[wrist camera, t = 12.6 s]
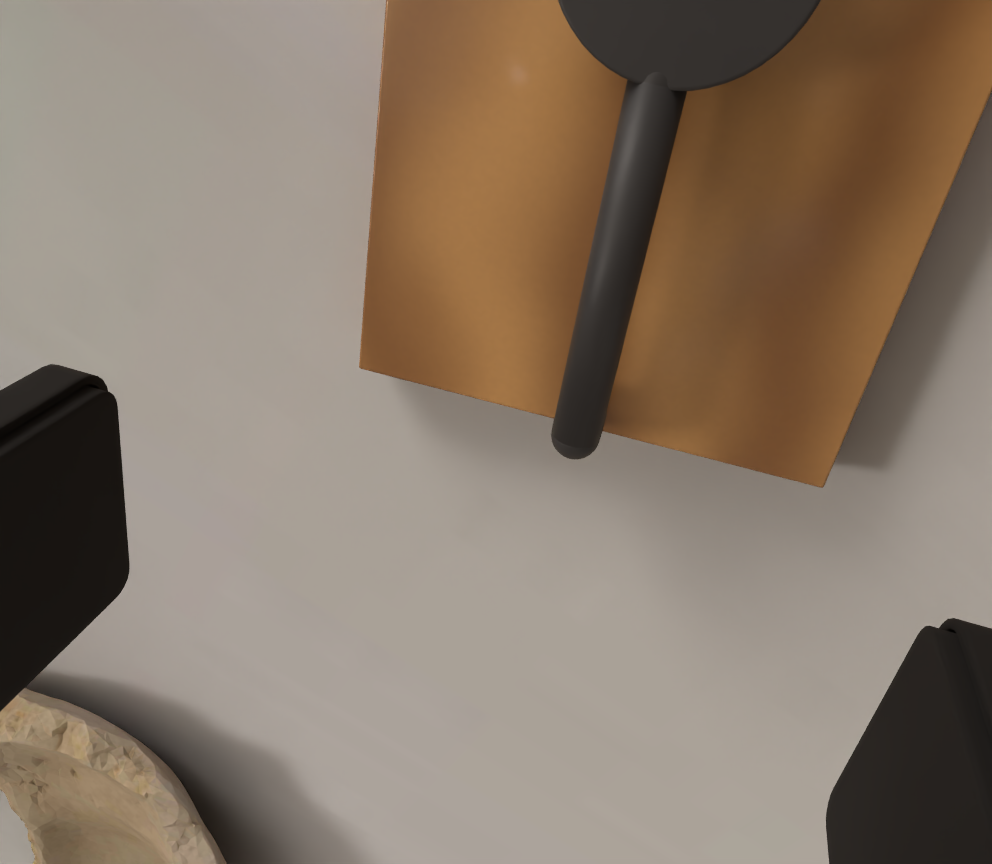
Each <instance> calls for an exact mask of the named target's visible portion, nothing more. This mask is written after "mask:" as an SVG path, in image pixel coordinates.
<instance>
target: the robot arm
mask: <svg viewBox="0 0 992 864" xmlns="http://www.w3.org/2000/svg"><path fill="white" fill-rule="evenodd" d="M128 574H129V553H128V540H127V527H126V513H125V500H124V487H123V473H122V460H121V447H120V433H119V420H118V407H117V402H116V399H115V397H114V395H113V394H111V393H110V392H108V389H107V386H106V384H105V383H104V381H103V380H102V379H101V378H99V377H98V376H95V375H92V374H88V373H84V372H81V371H77V370H74V369H70V368H67V367H63V366H60V365H52V364H50V365H47V366H44V367H42V368H40V369H38V370H36V371H35V372H33V373H31V374H29V375H27V376H26V377H24V378H22V379H20V380H18V381H17V382H15V383H13V384H11V385H9V386H8V387H6V388H4V389H2V390H0V711H1V710H2V709H3V708H5V707H6V706H7V705H8V704H9V703H10V702H11V701H12V700H13V699H14V698H15V697H16V696H17V695H18V694H19V693H20V692H21V691H22V690H23V689H24V688H25V687H26V686H27V685H28V684H29V683H30V682H31V681H32V680H33V679H34V678H35V677H36V676H37V675H38V674H39V673H40V672H41V671H42V670H43V669H44V668H45V667H46V666H47V665H48V664H49V663H50V662H51V661H52V660H53V659H54V658H55V657H56V656H57V655H58V654H59V653H60V652H61V651H63V650H64V649H65V648H66V647H67V646H68V645H69V644H70V643H71V642H72V641H73V640H74V639H75V638H76V637H77V636H78V635H79V634H80V633H81V632H82V631H83V630H84V629H85V628H86V627H87V626H88V625H89V624H90V623H91V622H92V621H93V620H94V619H95V618H96V617H97V616H98V615H99V614H100V613H101V612H102V611H103V610H104V609H105V608H106V607H107V606H108V605H109V604H110V603H111V602H112V601H113V600H114V599H115V598H116V597H117V596H118V595H119V594H120V593H121V591H122V589H123V588H124V586H125V584H126V581H127V579H128ZM826 831H827V842H828V854H829V864H992V629H990V628H987V627H983V626H980V625H976V624H973V623H969V622H966V621H962V620H959V619H955V618H952V619H948V620H946V621H945V622H944V623H943V624H942V625H941V626H940V628H935V627H932V626H925V627H924V628H923V629H922V630H921V631H920V632H919V634H918V635H917V637H916V639H915V641H914V643H913V644H912V646H911V648H910V650H909V652H908V654H907V655H906V657H905V659H904V661H903V663H902V664H901V666H900V668H899V670H898V672H897V674H896V675H895V677H894V679H893V681H892V683H891V685H890V686H889V688H888V690H887V692H886V694H885V695H884V697H883V699H882V701H881V703H880V705H879V706H878V708H877V710H876V712H875V714H874V716H873V717H872V719H871V721H870V723H869V725H868V726H867V728H866V730H865V732H864V734H863V736H862V737H861V739H860V741H859V743H858V745H857V746H856V748H855V750H854V752H853V754H852V756H851V757H850V759H849V761H848V763H847V765H846V767H845V768H844V770H843V772H842V774H841V776H840V777H839V779H838V781H837V783H836V785H835V787H834V788H833V791H832V793H831V795H830V799H829V802H828V807H827V814H826Z"/></svg>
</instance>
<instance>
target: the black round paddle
mask: <svg viewBox="0 0 992 864" xmlns="http://www.w3.org/2000/svg"><path fill="white" fill-rule="evenodd" d="M820 1H821V0H558V2H559V5H560V7H561V10H562V12H563V14H564V16H565V18H566V20H567V22H568V24H569V26H570V28H571V29H572V31H573V32H574V34H575V35H576V37H577V38H578V39H579V41H580V42H581V44H582V45H583V46H584V47H585V48H586V49H587V50H588V51H589V52H590V53H591V55H592V56H593V57H594V58H596V59H597V60H598V61H599V62H600V63H602V64H603V65H604V66H605V67H606V68H608V69H609V70H611V71H613V72H614V73H616V74H618V75H619V76H621V77H623V78H625V79H627V84H626V89H625V93H624V98H623V102H622V107H621V112H620V116H619V121H618V126H617V130H616V135H615V140H614V144H613V149H612V153H611V158H610V163H609V167H608V172H607V177H606V181H605V186H604V191H603V195H602V200H601V204H600V209H599V214H598V218H597V223H596V228H595V232H594V237H593V242H592V246H591V251H590V255H589V260H588V265H587V269H586V274H585V279H584V283H583V288H582V292H581V297H580V302H579V306H578V311H577V316H576V320H575V325H574V330H573V334H572V339H571V343H570V348H569V353H568V357H567V362H566V367H565V371H564V376H563V381H562V385H561V390H560V394H559V399H558V404H557V408H556V413H555V418H554V422H553V427H552V433H551V437H552V442H553V445H554V447H555V449H556V450H557V451H558V452H559V453H560V454H561V455H563V456H564V457H566V458H569V459H582V458H585V457H587V456H589V455H590V454H591V453H592V452H593V451H594V450H595V449H596V447H597V446H598V443H599V440H600V437H601V434H602V430H603V427H604V424H605V420H606V416H607V408H608V404H609V400H610V396H611V392H612V388H613V384H614V380H615V376H616V372H617V368H618V364H619V360H620V357H621V353H622V349H623V345H624V341H625V337H626V333H627V329H628V325H629V321H630V317H631V313H632V309H633V305H634V301H635V297H636V293H637V289H638V285H639V281H640V277H641V273H642V269H643V265H644V261H645V257H646V253H647V249H648V245H649V241H650V237H651V233H652V229H653V225H654V221H655V217H656V213H657V209H658V205H659V201H660V197H661V193H662V189H663V185H664V182H665V178H666V174H667V170H668V166H669V162H670V158H671V154H672V150H673V146H674V142H675V138H676V134H677V130H678V126H679V122H680V118H681V114H682V110H683V106H684V102H685V98H686V94H687V91H694V90H701V89H708V88H712V87H715V86H719V85H722V84H726V83H728V82H731V81H733V80H735V79H738V78H740V77H742V76H745V75H746V74H748V73H750V72H752V71H753V70H755V69H757V68H758V67H760V66H762V65H763V64H764V63H766V62H767V61H768V60H770V59H771V58H772V57H774V56H775V55H776V54H778V53H779V52H780V51H781V50H782V49H783V48H784V47H785V46H786V45H787V44H788V43H789V42H790V41H791V40H792V39H793V38H794V37H795V36H796V35H797V34H798V32H799V31H800V30H801V29H802V28H803V26H804V25H805V24H806V23H807V21H808V20H809V18H810V17H811V15H812V14H813V12H814V11H815V9H816V8H817V6H818V5H819V3H820Z"/></svg>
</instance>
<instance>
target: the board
mask: <svg viewBox="0 0 992 864" xmlns="http://www.w3.org/2000/svg"><path fill="white" fill-rule="evenodd" d="M626 84H627V79H625V78H623V77H621V76H619V75H618V74H616V73H614V72H613V71H611V70H609V69H608V68H606V67H605V66H604V65H603V64H602V63H600V62H599V61H598V60H597V59H596V58H594V57H593V56H592V55H591V53H590V52H589V51H588V50H587V49H586V48H585V47H584V46H583V45H582V44H581V42H580V41H579V39H578V38H577V37H576V35H575V34H574V32H573V31H572V29H571V28H570V26H569V24H568V22H567V20H566V18H565V16H564V14H563V12H562V10H561V7H560V5H559V2H558V0H386V12H385V25H384V39H383V52H382V66H381V79H380V93H379V106H378V120H377V133H376V147H375V160H374V174H373V187H372V201H371V214H370V228H369V241H368V255H367V268H366V282H365V295H364V309H363V322H362V336H361V349H360V363H359V367H360V368H361V369H365V370H369V371H373V372H376V373H380V374H384V375H388V376H392V377H396V378H400V379H403V380H407V381H411V382H415V383H419V384H423V385H427V386H431V387H434V388H438V389H442V390H446V391H450V392H454V393H458V394H461V395H465V396H469V397H473V398H477V399H481V400H485V401H489V402H492V403H496V404H500V405H504V406H508V407H512V408H516V409H519V410H523V411H527V412H531V413H535V414H539V415H543V416H547V417H550V418H555V413H556V408H557V404H558V399H559V394H560V390H561V385H562V381H563V376H564V371H565V367H566V362H567V357H568V353H569V348H570V343H571V339H572V334H573V330H574V325H575V320H576V316H577V311H578V306H579V302H580V297H581V292H582V288H583V283H584V279H585V274H586V269H587V265H588V260H589V255H590V251H591V246H592V242H593V237H594V232H595V228H596V223H597V218H598V214H599V209H600V204H601V200H602V195H603V191H604V186H605V181H606V177H607V172H608V167H609V163H610V158H611V153H612V149H613V144H614V140H615V135H616V130H617V126H618V121H619V116H620V112H621V107H622V102H623V98H624V93H625V89H626ZM991 92H992V0H821V1H820V3H819V5H818V6H817V8H816V9H815V11H814V12H813V14H812V15H811V17H810V18H809V20H808V21H807V23H806V24H805V25H804V26H803V28H802V29H801V30H800V31H799V32H798V34H797V35H796V36H795V37H794V38H793V39H792V40H791V41H790V42H789V43H788V44H787V45H786V46H785V47H784V48H783V49H782V50H781V51H780V52H779V53H778V54H776V55H775V56H774V57H772V58H771V59H770V60H768V61H767V62H766V63H764V64H763V65H762V66H760V67H758V68H757V69H755V70H753V71H752V72H750V73H748V74H746V75H745V76H742V77H740V78H738V79H735V80H733V81H731V82H728V83H726V84H722V85H719V86H715V87H712V88H708V89H701V90H694V91H687V94H686V98H685V102H684V106H683V110H682V114H681V118H680V122H679V126H678V130H677V134H676V138H675V142H674V146H673V150H672V154H671V158H670V162H669V166H668V170H667V174H666V178H665V182H664V185H663V189H662V193H661V197H660V201H659V205H658V209H657V213H656V217H655V221H654V225H653V229H652V233H651V237H650V241H649V245H648V249H647V253H646V257H645V261H644V265H643V269H642V273H641V277H640V281H639V285H638V289H637V293H636V297H635V301H634V305H633V309H632V313H631V317H630V321H629V325H628V329H627V333H626V337H625V341H624V345H623V349H622V353H621V357H620V360H619V364H618V368H617V372H616V376H615V380H614V384H613V388H612V392H611V396H610V400H609V404H608V408H607V416H606V420H605V424H604V427H603V430H602V431H605V432H608V433H612V434H616V435H620V436H624V437H628V438H632V439H635V440H639V441H643V442H647V443H651V444H655V445H659V446H662V447H666V448H670V449H674V450H678V451H682V452H686V453H690V454H693V455H697V456H701V457H705V458H709V459H713V460H717V461H720V462H724V463H728V464H732V465H736V466H740V467H744V468H748V469H751V470H755V471H759V472H763V473H767V474H771V475H775V476H778V477H782V478H786V479H790V480H794V481H798V482H802V483H806V484H809V485H813V486H817V487H821V488H822V487H824V485H825V483H826V480H827V478H828V476H829V473H830V471H831V469H832V466H833V464H834V462H835V459H836V457H837V454H838V452H839V450H840V447H841V445H842V443H843V440H844V438H845V436H846V433H847V431H848V429H849V426H850V424H851V422H852V419H853V417H854V414H855V412H856V410H857V407H858V405H859V403H860V400H861V398H862V396H863V393H864V391H865V389H866V386H867V384H868V381H869V379H870V377H871V374H872V372H873V370H874V367H875V365H876V363H877V360H878V358H879V356H880V353H881V351H882V348H883V346H884V344H885V341H886V339H887V337H888V334H889V332H890V330H891V327H892V325H893V323H894V320H895V318H896V316H897V313H898V311H899V308H900V306H901V304H902V301H903V299H904V297H905V294H906V292H907V290H908V287H909V285H910V283H911V280H912V278H913V275H914V273H915V271H916V268H917V266H918V264H919V261H920V259H921V257H922V254H923V252H924V250H925V247H926V245H927V242H928V240H929V238H930V235H931V233H932V231H933V228H934V226H935V224H936V221H937V219H938V217H939V214H940V212H941V209H942V207H943V205H944V202H945V200H946V198H947V195H948V193H949V191H950V188H951V186H952V184H953V181H954V179H955V177H956V174H957V172H958V169H959V167H960V165H961V162H962V160H963V158H964V155H965V153H966V151H967V148H968V146H969V144H970V141H971V139H972V136H973V134H974V132H975V129H976V127H977V125H978V122H979V120H980V118H981V115H982V113H983V111H984V108H985V106H986V103H987V101H988V99H989V96H990V94H991Z"/></svg>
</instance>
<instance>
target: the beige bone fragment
mask: <svg viewBox="0 0 992 864" xmlns="http://www.w3.org/2000/svg"><path fill="white" fill-rule="evenodd" d="M0 790H2V791H3V792H4V793H5V794H6V796H7V799H8V802H9V804H10V807H11V809H12V810H13V811H14V812H15V813H16V814H17V815H18V816H19V817H20V819H21V820H22V821H23V822H24V823H25V827H26V828H27V829H28V839H29V841H30V842H31V848H32V851H33V853H34V855H35V858H34V859H35V861H34V862H33V864H227V863H226V861H225V859H224V857H223V855H222V854H221V852H220V849H219V847H218V846H217V844H216V842H215V840H214V839H213V837H212V835H211V834H210V832H209V831H208V829H207V828H206V826H205V825H204V823H203V821H202V819H201V818H200V816H199V814H198V812H197V810H196V808H195V806H194V804H193V802H192V800H191V798H190V797H189V795H188V793H187V791H186V790H185V788H184V787H183V785H182V783H181V782H180V780H179V779H178V778H177V776H176V775H175V774H174V772H173V771H172V770H171V769H170V768H169V767H168V766H167V765H166V764H165V763H164V762H163V761H162V760H161V759H160V758H159V757H158V756H157V755H156V754H155V753H154V752H153V751H151V750H150V749H149V748H148V747H146V746H145V745H144V744H143V743H141V742H140V741H138V740H137V739H135V738H134V737H133V736H131V735H130V734H128V733H127V732H125V731H123V730H122V729H120V728H119V727H117V726H115V725H114V724H112V723H110V722H108V721H107V720H105V719H103V718H101V717H100V716H98V715H96V714H93V713H91V712H89V711H87V710H85V709H83V708H80V707H78V706H75V705H73V704H71V703H68V702H66V701H63V700H60V699H56V698H52V697H49V696H46V695H43V694H40V693H36V692H33V691H31V690H28V689H26V688H24V689H23V690H22V691H21V692H20V693H19V694H18V695H17V696H16V697H15V698H14V699H13V700H12V701H11V702H10V703H9V704H8V705H7V706H6V707H5V708H3V709H2V710H1V711H0Z"/></svg>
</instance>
